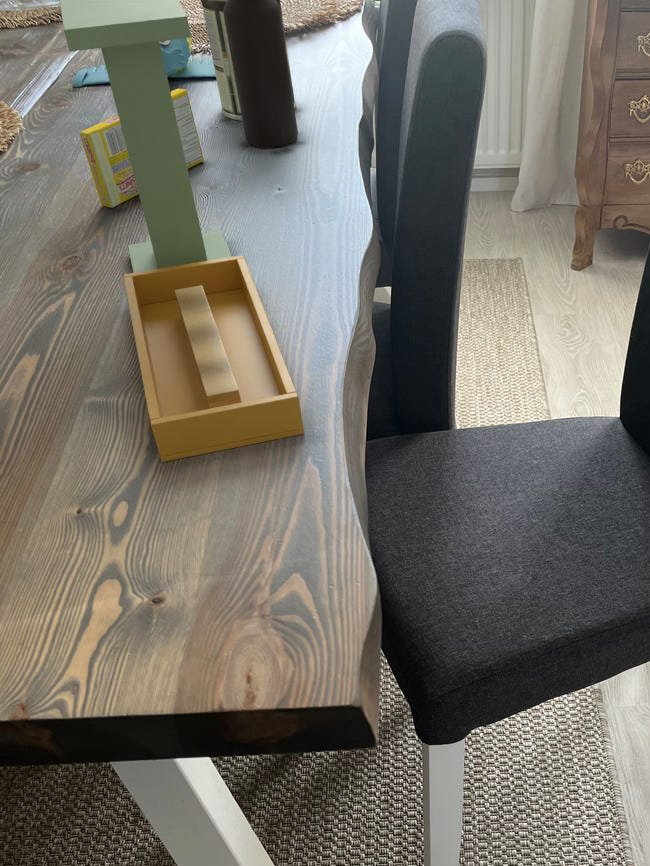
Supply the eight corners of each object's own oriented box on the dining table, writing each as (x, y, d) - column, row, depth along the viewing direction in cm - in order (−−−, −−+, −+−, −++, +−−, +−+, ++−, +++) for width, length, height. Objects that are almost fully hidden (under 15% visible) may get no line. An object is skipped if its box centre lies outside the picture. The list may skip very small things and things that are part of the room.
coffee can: (278, 92, 144) (261, -24, 134) (307, 112, 138) (292, -7, 128) (210, 105, 141) (187, -12, 131) (237, 127, 134) (215, 5, 124)
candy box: (192, 159, 127) (177, 87, 121) (205, 161, 126) (190, 89, 120) (99, 205, 117) (77, 129, 111) (112, 209, 116) (91, 133, 110)
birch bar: (244, 417, 84) (238, 390, 82) (213, 423, 83) (206, 396, 81) (207, 310, 97) (202, 284, 95) (180, 315, 96) (174, 289, 95)
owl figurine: (257, -8, 150) (249, 23, 139) (268, 57, 156) (261, 90, 145) (67, 1, 148) (45, 32, 138) (85, 65, 155) (65, 100, 144)
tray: (304, 433, 83) (298, 396, 80) (161, 462, 80) (150, 425, 78) (250, 288, 101) (243, 254, 99) (132, 308, 99) (122, 273, 96)
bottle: (244, 133, 132) (211, -47, 118) (295, 128, 134) (269, -52, 119) (248, 151, 128) (215, -34, 114) (301, 145, 129) (275, -39, 115)
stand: (241, 288, 101) (187, 16, 84) (140, 306, 99) (63, 29, 82) (221, 233, 111) (168, -22, 94) (129, 248, 108) (57, -11, 91)
